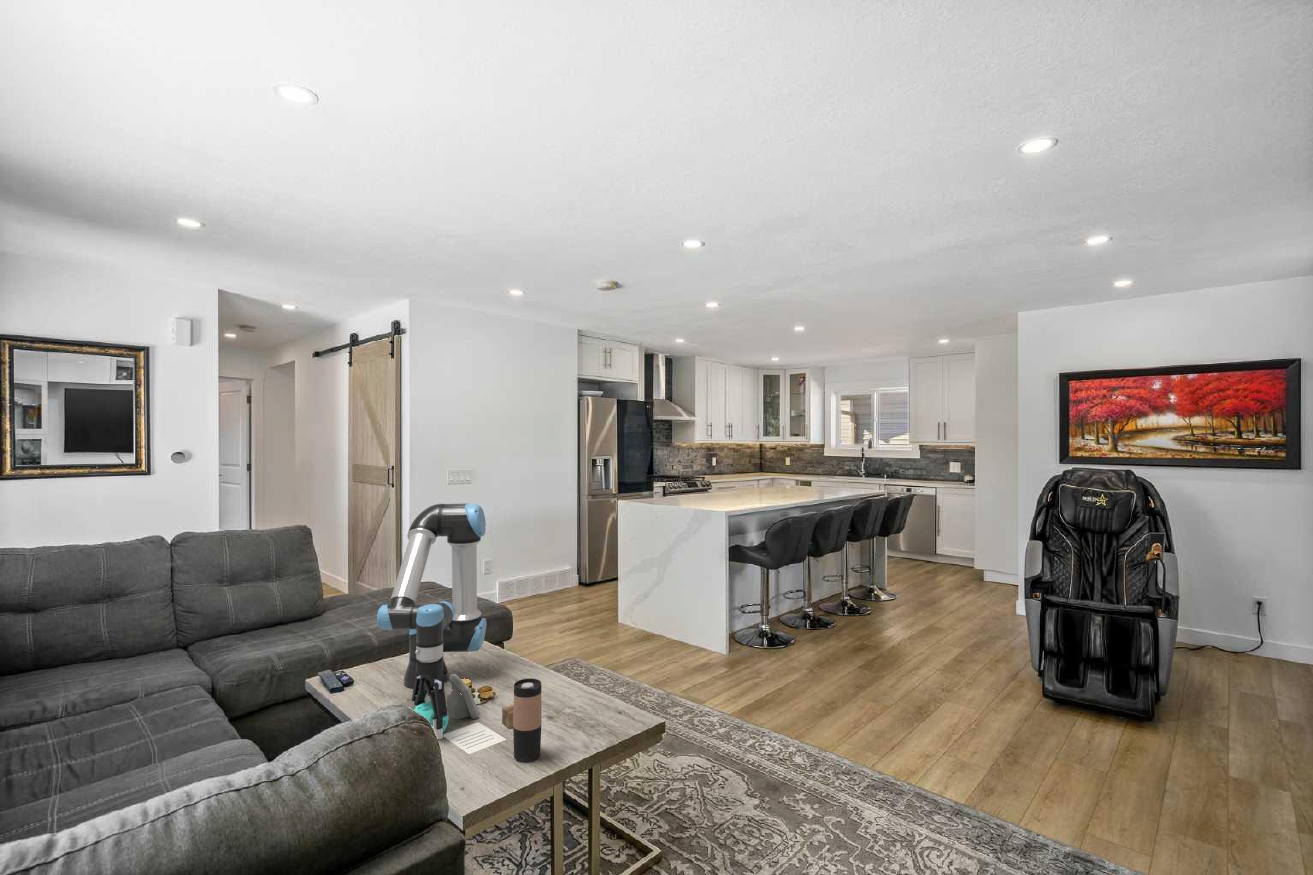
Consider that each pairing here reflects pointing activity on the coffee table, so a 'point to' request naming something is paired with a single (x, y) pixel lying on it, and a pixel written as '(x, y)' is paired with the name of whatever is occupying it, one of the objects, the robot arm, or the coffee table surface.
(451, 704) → the grey angular piece
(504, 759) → the coffee table surface
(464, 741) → the letter
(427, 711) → the decorative dice
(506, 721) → the walnut block
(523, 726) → the travel mug
